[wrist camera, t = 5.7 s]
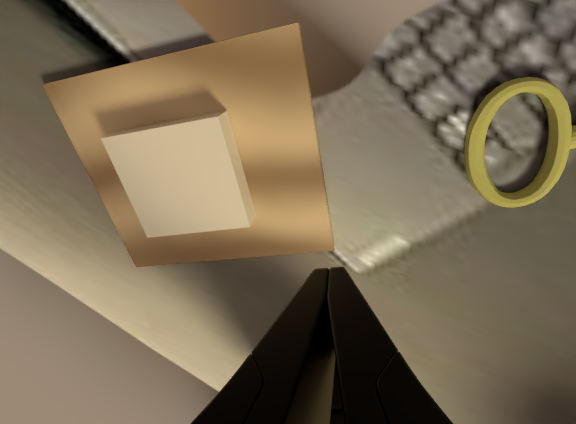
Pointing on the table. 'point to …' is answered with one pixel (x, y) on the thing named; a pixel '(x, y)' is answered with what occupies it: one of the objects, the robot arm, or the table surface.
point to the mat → (246, 128)
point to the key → (557, 147)
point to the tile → (183, 175)
